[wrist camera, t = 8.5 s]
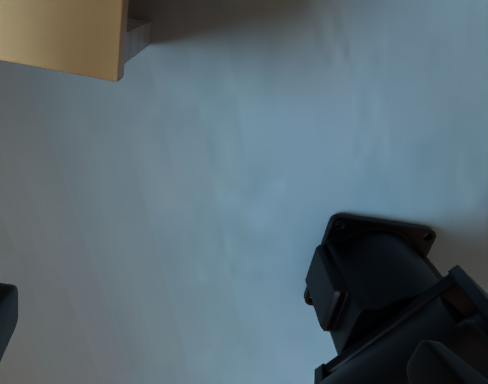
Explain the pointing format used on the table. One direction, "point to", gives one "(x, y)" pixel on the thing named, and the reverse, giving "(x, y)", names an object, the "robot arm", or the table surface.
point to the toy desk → (72, 35)
